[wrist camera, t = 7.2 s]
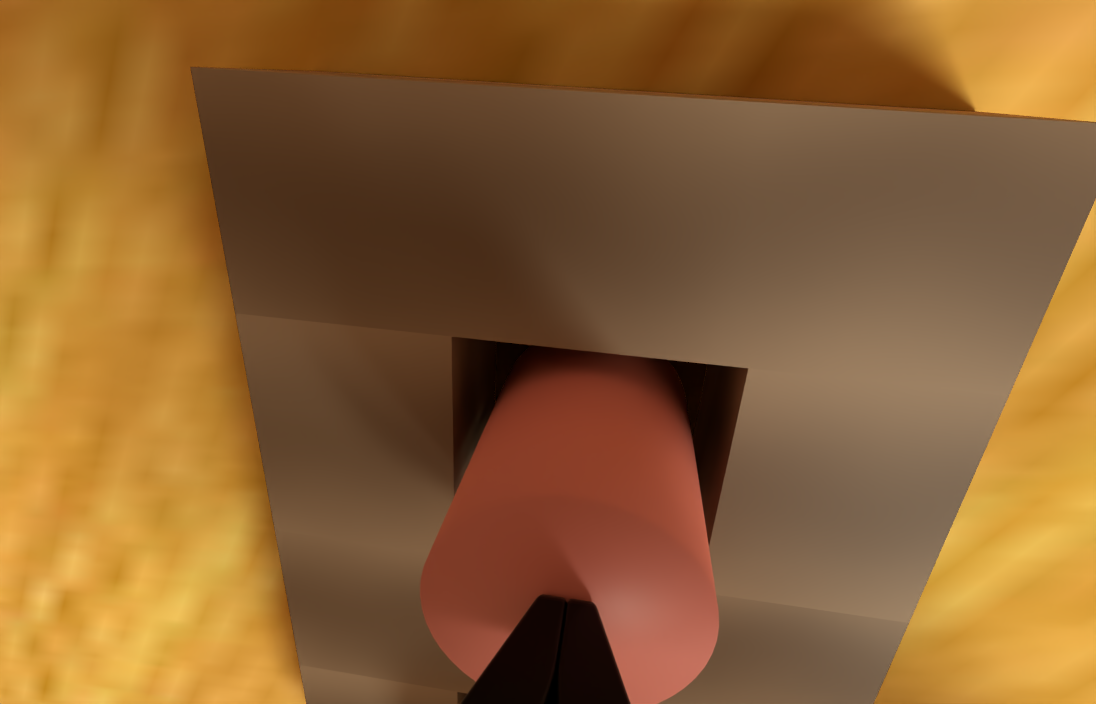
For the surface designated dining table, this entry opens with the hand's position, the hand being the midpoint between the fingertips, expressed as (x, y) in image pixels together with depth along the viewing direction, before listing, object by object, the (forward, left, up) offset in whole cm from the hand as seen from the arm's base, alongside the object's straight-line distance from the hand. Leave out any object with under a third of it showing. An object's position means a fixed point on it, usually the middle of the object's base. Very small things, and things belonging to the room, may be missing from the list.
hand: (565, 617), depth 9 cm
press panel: (-5, 0, -8) cm, 9 cm away
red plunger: (0, 0, -6) cm, 6 cm away
